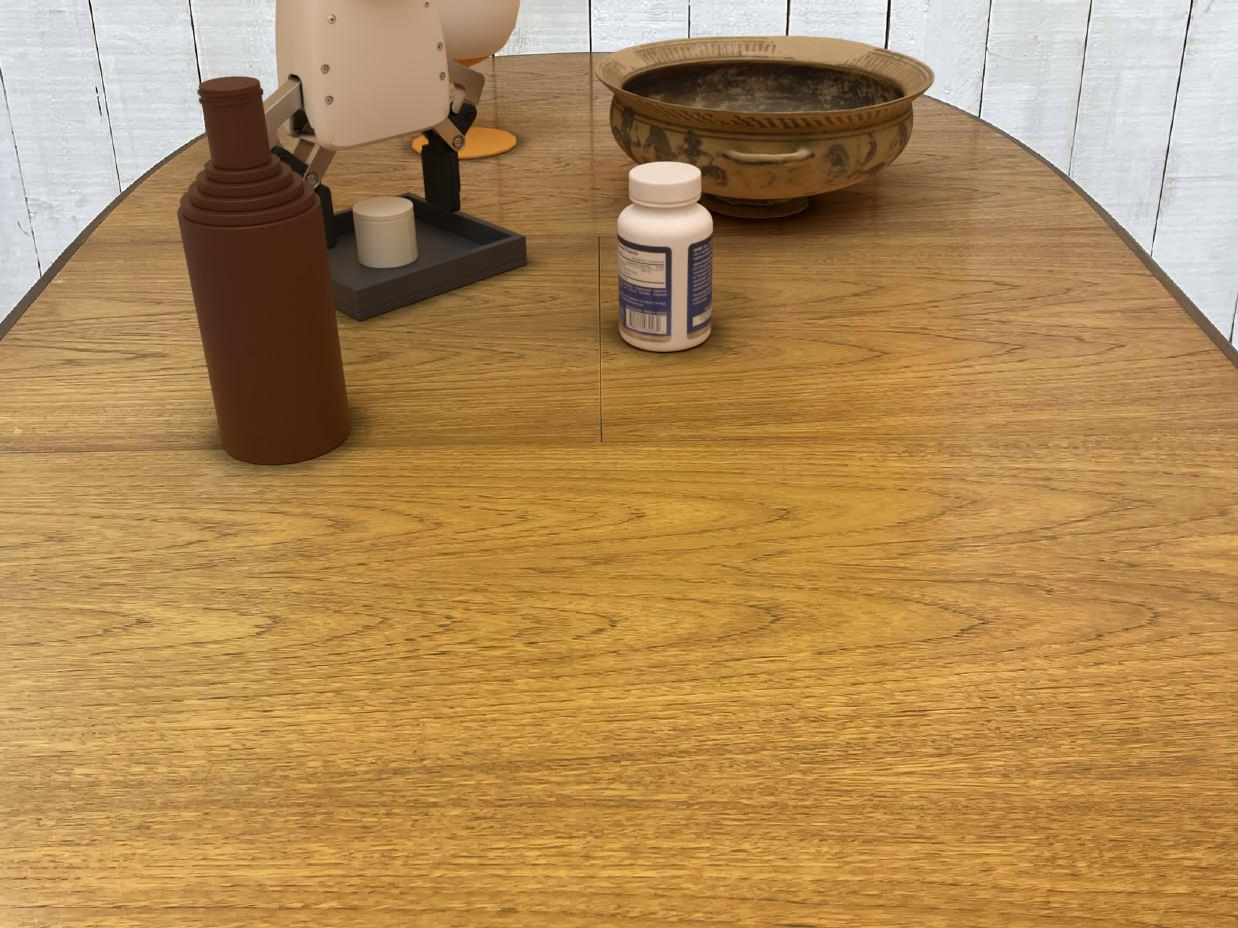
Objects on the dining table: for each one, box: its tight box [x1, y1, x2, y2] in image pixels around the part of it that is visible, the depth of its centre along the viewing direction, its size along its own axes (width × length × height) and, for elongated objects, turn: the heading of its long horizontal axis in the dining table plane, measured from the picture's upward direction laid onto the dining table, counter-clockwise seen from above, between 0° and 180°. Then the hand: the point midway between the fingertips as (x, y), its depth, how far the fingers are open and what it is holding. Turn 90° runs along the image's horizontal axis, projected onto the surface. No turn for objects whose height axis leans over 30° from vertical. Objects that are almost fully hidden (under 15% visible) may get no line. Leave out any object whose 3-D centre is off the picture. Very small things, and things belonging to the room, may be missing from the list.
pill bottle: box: [616, 162, 714, 353], centre depth 71 cm, size 5×5×10 cm
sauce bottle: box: [176, 75, 352, 465], centre depth 59 cm, size 6×6×18 cm
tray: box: [327, 191, 528, 322], centre depth 83 cm, size 13×13×2 cm
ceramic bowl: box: [594, 35, 936, 219], centre depth 92 cm, size 30×24×10 cm
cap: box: [352, 196, 418, 269], centre depth 83 cm, size 4×4×4 cm
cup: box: [411, 0, 521, 160], centre depth 104 cm, size 12×12×17 cm
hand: (383, 224), depth 82 cm, fingers open, 9 cm apart
